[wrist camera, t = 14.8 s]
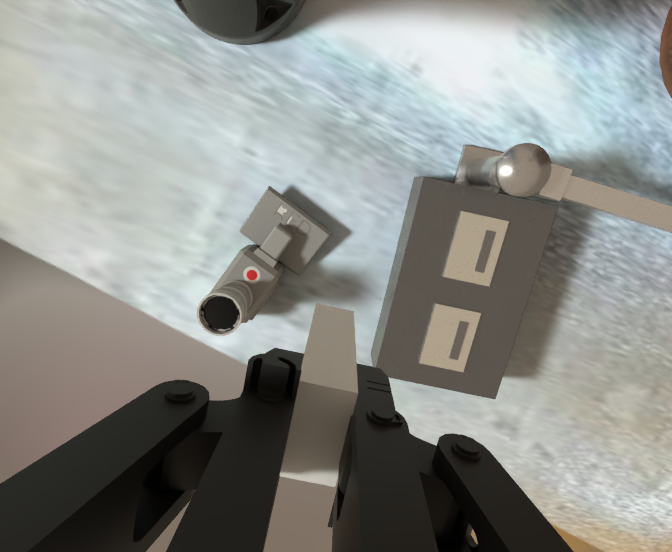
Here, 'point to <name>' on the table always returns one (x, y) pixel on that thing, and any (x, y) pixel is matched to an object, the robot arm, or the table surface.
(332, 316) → the robot arm
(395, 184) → the table surface
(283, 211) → the camera
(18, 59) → the table surface
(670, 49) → the cup holder
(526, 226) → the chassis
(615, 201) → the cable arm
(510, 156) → the post
